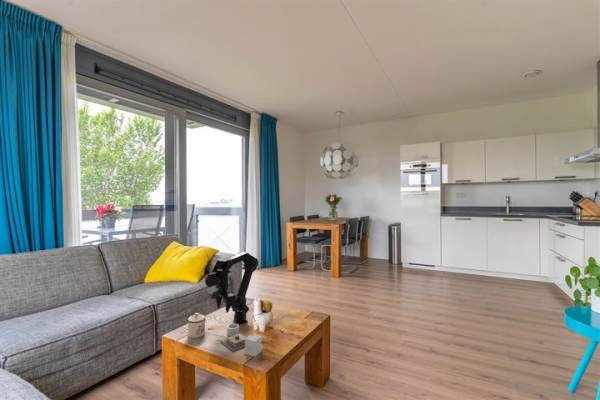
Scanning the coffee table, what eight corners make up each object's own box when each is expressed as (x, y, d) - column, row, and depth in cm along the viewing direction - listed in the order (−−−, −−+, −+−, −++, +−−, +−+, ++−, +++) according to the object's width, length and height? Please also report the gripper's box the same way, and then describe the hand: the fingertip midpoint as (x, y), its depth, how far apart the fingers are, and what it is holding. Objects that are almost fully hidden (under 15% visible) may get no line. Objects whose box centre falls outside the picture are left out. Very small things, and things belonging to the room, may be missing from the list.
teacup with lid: (198, 339, 154) (198, 317, 153) (183, 337, 156) (183, 315, 156) (211, 329, 165) (211, 309, 165) (198, 327, 168) (198, 307, 168)
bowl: (235, 329, 165) (235, 322, 165) (241, 333, 161) (241, 326, 161) (224, 333, 161) (224, 325, 161) (230, 337, 156) (230, 329, 156)
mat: (241, 335, 159) (241, 334, 159) (253, 343, 150) (253, 342, 150) (220, 342, 150) (220, 341, 150) (233, 352, 142) (233, 350, 142)
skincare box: (255, 357, 137) (255, 341, 137) (244, 354, 140) (244, 338, 140) (262, 350, 143) (262, 335, 143) (251, 348, 145) (251, 333, 145)
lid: (239, 337, 155) (239, 331, 155) (247, 342, 150) (247, 336, 150) (226, 341, 150) (226, 336, 150) (234, 347, 145) (234, 341, 145)
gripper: (201, 281, 164) (201, 309, 164) (218, 289, 150) (218, 319, 150) (219, 277, 171) (219, 304, 172) (236, 284, 158) (236, 313, 158)
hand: (222, 310), depth 163 cm, fingers open, 9 cm apart
